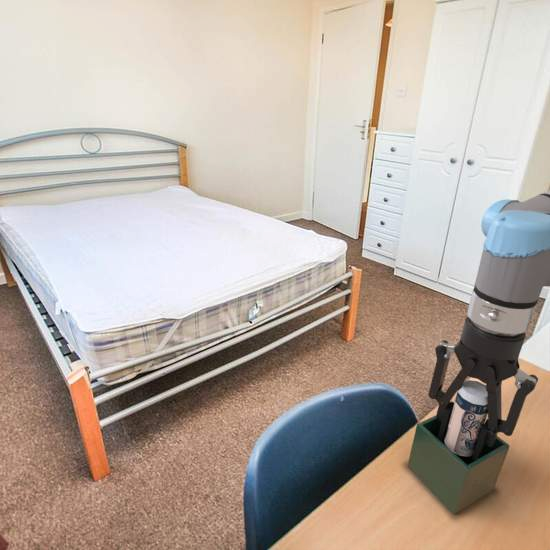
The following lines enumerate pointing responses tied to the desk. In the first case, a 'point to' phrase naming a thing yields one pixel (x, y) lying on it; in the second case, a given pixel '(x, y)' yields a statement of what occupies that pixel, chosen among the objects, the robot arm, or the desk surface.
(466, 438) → the beer can
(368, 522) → the desk surface
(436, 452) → the green open-top box
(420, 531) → the desk surface
